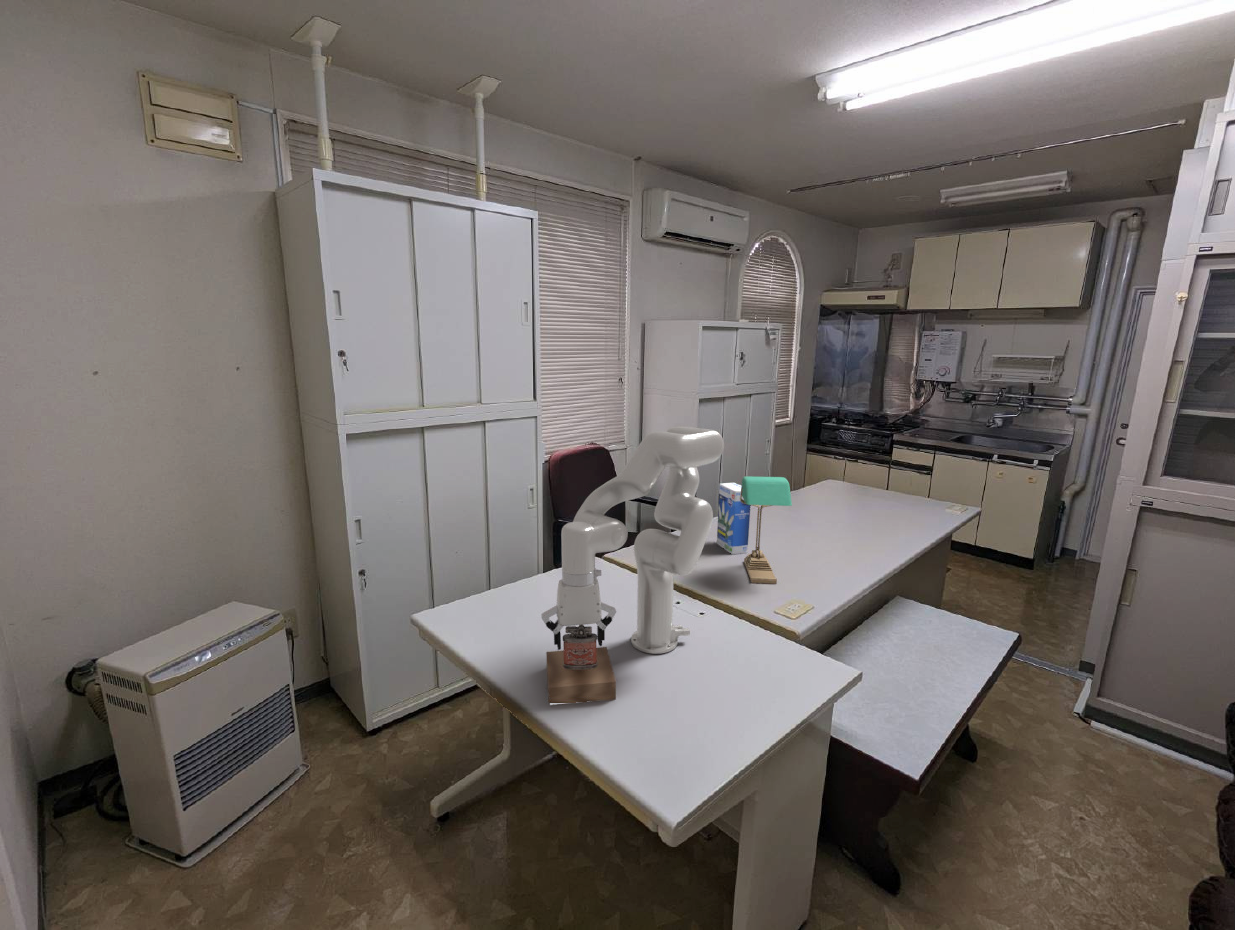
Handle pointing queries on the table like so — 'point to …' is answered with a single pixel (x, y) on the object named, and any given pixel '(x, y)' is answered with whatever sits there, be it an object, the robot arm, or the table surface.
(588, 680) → the walnut block
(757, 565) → the banker's lamp
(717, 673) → the table surface
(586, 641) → the lighter
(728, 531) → the string lights box
